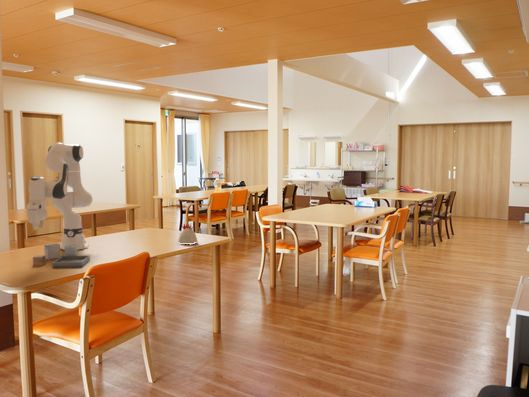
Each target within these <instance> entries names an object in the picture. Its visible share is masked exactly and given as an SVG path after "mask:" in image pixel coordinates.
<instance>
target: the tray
mask: <svg viewBox="0 0 529 397" xmlns="http://www.w3.org/2000/svg"><path fill="white" fill-rule="evenodd" d="M90 261H91V257H90V255H77V256H65V255H60V258H56V259H55V260H54V261H52V265H51V266H52V268H53V269H59V268H60V267H62V269H64V267H65V268H66V267H68V268H71V267H72V268H83V267H84V266H86V264H88V262H90ZM72 268H71V269H72ZM60 269H61V268H60Z"/></svg>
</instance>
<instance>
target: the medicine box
mask: <svg viewBox="0 0 529 397" xmlns="http://www.w3.org/2000/svg"><path fill="white" fill-rule="evenodd" d="M43 247H44V255H45V260H47V259H48V261H49V260H53V259H55V260H56V259H58V258H60V257H61V249H60V247H61V243H58V242H57V243H49V244H44V246H43Z"/></svg>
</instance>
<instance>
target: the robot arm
mask: <svg viewBox="0 0 529 397" xmlns="http://www.w3.org/2000/svg"><path fill="white" fill-rule="evenodd" d="M83 157H84V148H83V147H82V146H81V145H79V144H76V143H75V144H71V143H65V144H64V143H63V142H55V143H53V144H52V145H50V146H49V147H48V149H47V154H46V156H45V158H44V159H45V160H44V163H45V165H46V167H47V168H48V169H49V170H51V171H53V172H54V173H55V172H56V173H59V175H58V176H59V178H58V180H57V181H46V180H45V177H43V176H32V177H30V178H29V180H28V195H29V196H28V197H29V198H28V204H27V205H26V208H25V209H26V210H27V213H26V214H27V222H28V223H29V224H31V226H32V229H33V231H37V230H38V228H39V229H42V228H44V223H45V220H46V219H48V218H47V217H48V212H47V199H51V204H52V206H53V207H54V208H56V209H57V210H58V211H59V212H60V213H61V215H62V217H63V235H61V243H60V250H64V251H65V246H72V245H74V246H77V251H79V250H82V249H83V250H84V249H89V244H90V243H89V242H87V241H86V237H85V235H84V233H83V231H84V230H83V229H84V227H83V224H82V223H83V222H82V220H83V219H82V216H81V215H80V214H79V213H76V211H73V210H72V209H77V208H79V209H81V208H87V207H90V206H91V205H92V204H93V196H92V193H90V192H89V191H88V190H86V189H85V188H84V186H83V184H82V178H81V166H80V165H81V164H80V161H81V160H82V159H83ZM68 188H71V189H72V191H68ZM38 223H39V225H38ZM37 225H38V226H37Z"/></svg>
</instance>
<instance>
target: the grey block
mask: <svg viewBox="0 0 529 397" xmlns="http://www.w3.org/2000/svg"><path fill="white" fill-rule="evenodd" d="M64 256H78V250H77V246H74V245H72V246H65V250H64Z"/></svg>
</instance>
